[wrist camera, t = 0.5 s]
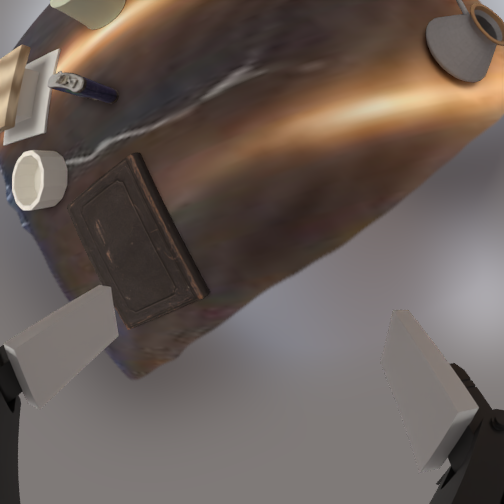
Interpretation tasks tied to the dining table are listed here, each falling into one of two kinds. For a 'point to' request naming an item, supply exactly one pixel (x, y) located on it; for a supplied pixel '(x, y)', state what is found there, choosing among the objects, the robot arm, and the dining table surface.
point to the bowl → (39, 179)
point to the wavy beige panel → (11, 84)
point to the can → (90, 11)
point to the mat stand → (33, 99)
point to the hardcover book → (135, 244)
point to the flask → (82, 87)
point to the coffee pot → (466, 41)
